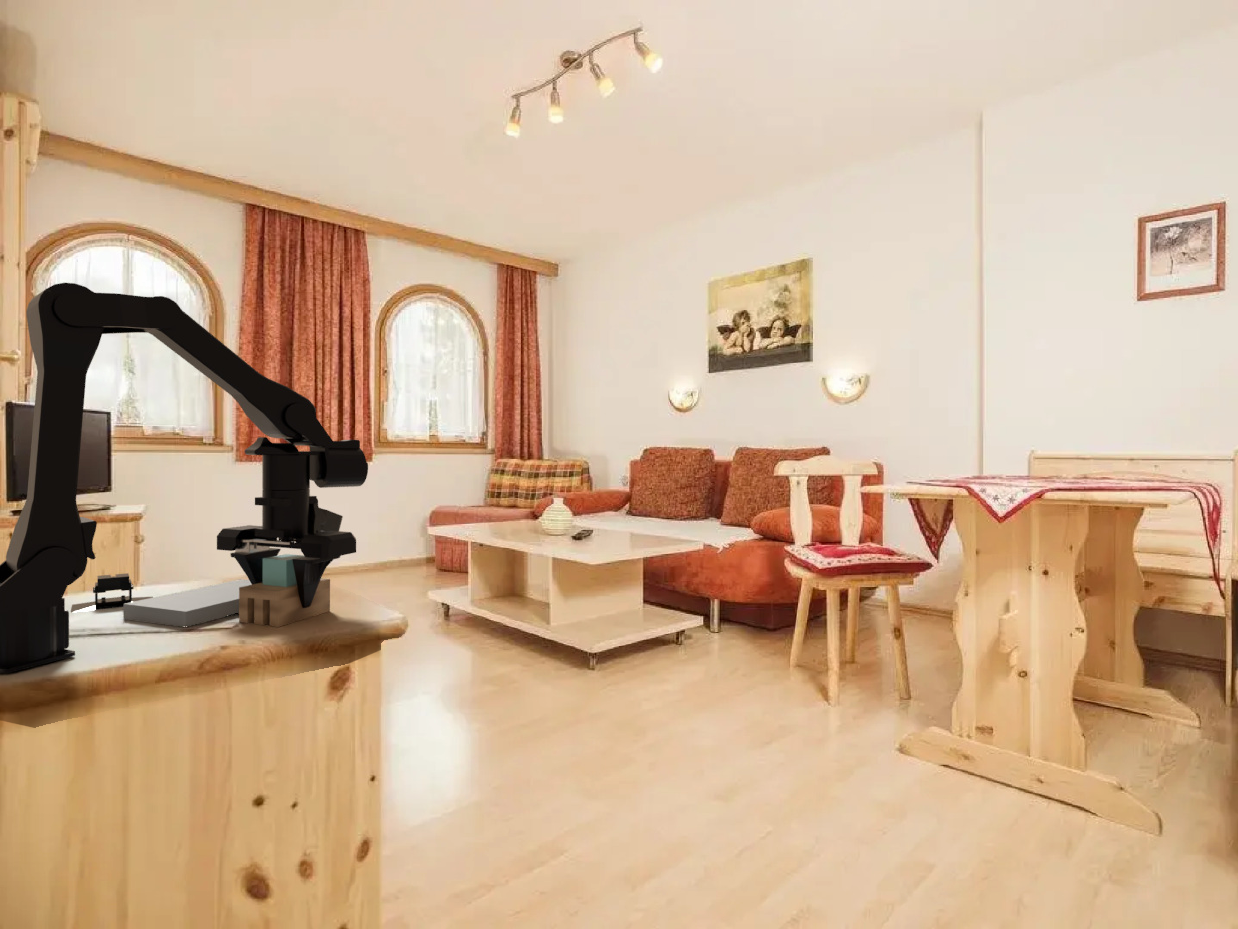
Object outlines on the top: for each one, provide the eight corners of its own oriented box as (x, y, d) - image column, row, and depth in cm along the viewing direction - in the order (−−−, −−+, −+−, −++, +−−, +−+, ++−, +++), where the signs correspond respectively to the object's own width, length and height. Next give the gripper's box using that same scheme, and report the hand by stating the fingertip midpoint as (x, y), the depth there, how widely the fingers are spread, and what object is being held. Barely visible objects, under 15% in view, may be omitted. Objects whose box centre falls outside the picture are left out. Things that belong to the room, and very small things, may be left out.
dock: (185, 627, 85) (185, 611, 85) (123, 619, 89) (123, 603, 89) (296, 598, 102) (296, 584, 102) (240, 591, 106) (240, 579, 106)
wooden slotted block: (278, 627, 86) (278, 591, 86) (239, 622, 88) (239, 587, 88) (329, 611, 95) (330, 579, 95) (293, 606, 97) (293, 575, 97)
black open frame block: (163, 598, 104) (163, 568, 103) (167, 607, 98) (167, 575, 98) (58, 608, 96) (58, 576, 96) (55, 619, 90) (55, 585, 90)
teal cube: (286, 587, 89) (286, 560, 89) (262, 584, 90) (262, 558, 90) (309, 581, 93) (309, 556, 93) (286, 579, 94) (286, 554, 94)
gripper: (383, 488, 96) (382, 598, 96) (279, 484, 102) (279, 587, 102) (325, 493, 85) (325, 617, 86) (213, 488, 91) (213, 603, 92)
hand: (286, 605), depth 92 cm, fingers closed on wooden slotted block, 6 cm apart
